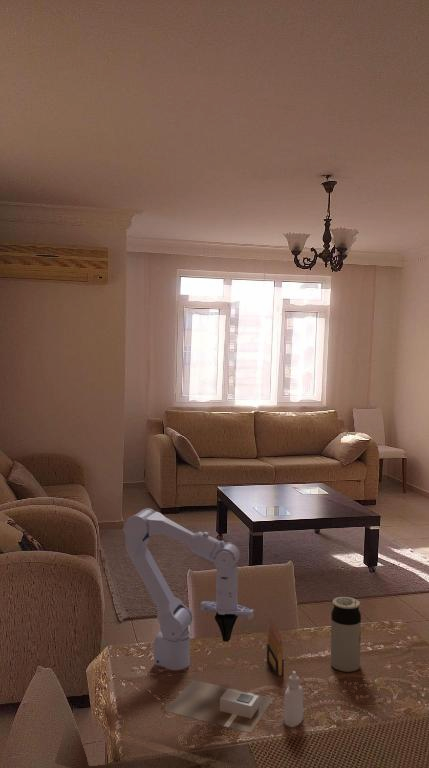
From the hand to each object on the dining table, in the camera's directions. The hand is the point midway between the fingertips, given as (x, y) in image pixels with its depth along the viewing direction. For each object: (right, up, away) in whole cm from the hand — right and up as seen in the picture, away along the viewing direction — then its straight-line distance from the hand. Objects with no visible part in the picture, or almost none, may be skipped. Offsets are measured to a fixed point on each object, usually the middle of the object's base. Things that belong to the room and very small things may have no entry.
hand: (226, 640), depth 177 cm
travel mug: (+33, -9, +6) cm, 35 cm away
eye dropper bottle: (+15, -11, -21) cm, 29 cm away
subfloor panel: (-3, -10, -16) cm, 19 cm away
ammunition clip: (+13, -10, +3) cm, 17 cm away
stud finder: (+3, -10, -18) cm, 21 cm away
